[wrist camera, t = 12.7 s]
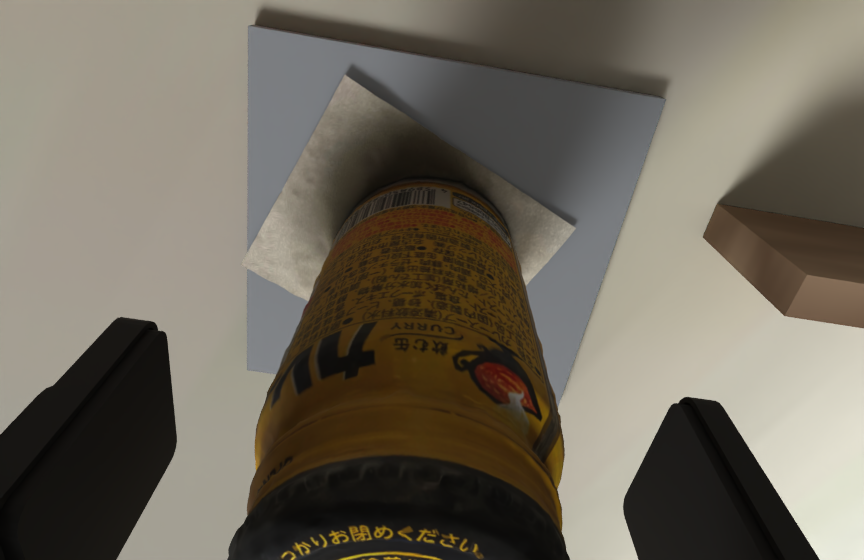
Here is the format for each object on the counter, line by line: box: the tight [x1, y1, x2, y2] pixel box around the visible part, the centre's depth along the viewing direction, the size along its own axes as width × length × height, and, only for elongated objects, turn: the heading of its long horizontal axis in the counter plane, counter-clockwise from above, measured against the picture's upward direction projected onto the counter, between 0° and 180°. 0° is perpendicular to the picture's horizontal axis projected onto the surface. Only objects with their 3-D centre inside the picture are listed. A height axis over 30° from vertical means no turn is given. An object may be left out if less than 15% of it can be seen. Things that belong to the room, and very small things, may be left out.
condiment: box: [227, 75, 576, 560], centre depth 13 cm, size 7×8×12 cm
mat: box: [247, 25, 666, 407], centre depth 19 cm, size 12×12×1 cm
